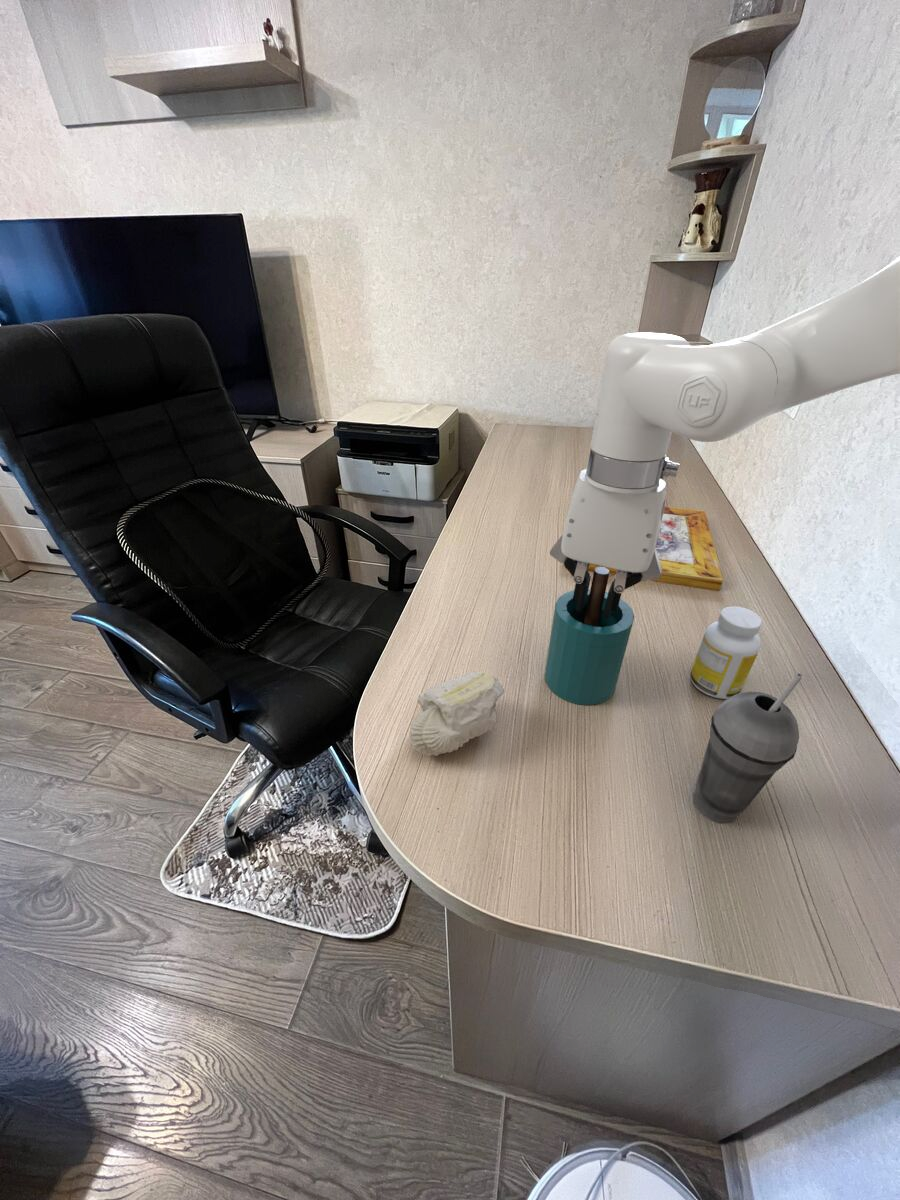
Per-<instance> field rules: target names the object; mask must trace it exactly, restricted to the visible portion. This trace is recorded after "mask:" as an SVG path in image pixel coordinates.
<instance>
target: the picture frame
mask: <svg viewBox="0 0 900 1200" xmlns="http://www.w3.org/2000/svg"><path fill="white" fill-rule="evenodd" d="M656 550H657V554H658V557H659V561H660V564H661V567H662V574H661V577H660V578H659V579H655V580H651V581H653V582H660V583H667V584H672V585H680V586H685V587H692V588H698V589H704V590H712V591H718V592H719V591H720V590H721V588H722V584H723V582H724V579H723V575H722V574H723V573H722V571H721V567H720V563H719V559H718V555H717V552H716V548H715V544H714V539H713V536H712V532H711V529H710V525H709V521H708V516H707V514H706V511H705V510H698V509H689V508H681V507H672V506H665V507H664V513H663V518H662V523H661V527H660V532H659V537H658V541H657V545H656ZM597 567H604V566H599V565H594V564H590V565H589V568H588V572H594V569H595V568H597ZM604 568H607V569H608V570H609V571H610V573H609V575H613V576H616V569H613V568H608V567H604Z"/></svg>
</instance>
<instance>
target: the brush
mask: <svg viewBox="0 0 900 1200" xmlns="http://www.w3.org/2000/svg"><path fill="white" fill-rule="evenodd" d="M609 573H610V571H609V570H608V569H607V568H604V567H597V568H595V569H594V571H593V575H592V578H591V585H590V588H589V590H590V594H589V599H588V604H587V609H586V614H585V620H584V624H586V625H590V626H593V627H598V624H599V619H600V615H601V610H602V606H603V601H604V596H605V592H607V586H608V582H609V578H610V574H609Z"/></svg>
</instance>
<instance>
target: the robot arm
mask: <svg viewBox="0 0 900 1200" xmlns="http://www.w3.org/2000/svg"><path fill="white" fill-rule="evenodd" d="M601 373H602V374H601V380H600V384H599V385H600V386H599V392H598V399H597V402H596V403H597V404H596V410H595V415H594V422H593V428H592V435H591V442H590V445H589V446H590V447H589V452H588V459H587V463H586V468H584V469H582V470H581V471H580V472H579V475H578V477H577V481H576V484H575V486H574V489H573V492H572V496H571V499H570V502H569V506H568V511H567V514H566V518H565V523H564V529H563V532H562V533H561V535H560V537H559V538H558V539H557V541H556V542H555V543H554V544H553V546H552V547H551V549H550V550H549V555H550V556H551V557H552V558H554V559H555V560H557V561H558V562H559V563H562V564H563V566H564V567H565V569H566V570H567V571H568V573H569V574H570V575H571V576H572V580H573V582H574V583H575V585H574V595H573V601H576V602H577V606H576V611H577V612H580V611H581V612H582V610H583V607H584V605H585V602H586V599H587V595H588V590H590V583H591V580H592V576H591V573H590V571H588V568H589V565H590V564H594V565H599V566H604V567H608V568H613V569H616V575H614V576H615V577H614V578H613V580H612V581H611V583H610V586H609V589H608V592H607V593H608V596H607V600H606V605H605V609H604V614H603V617H604V618H605V619H609V616H610V613H611V610H613V611H617V609H618V606H619V602H620V599H622V598H621V597H622V594H623V593H624V592H625V590H627V589H629V588H631V587H633V586H635V585H637V584H639V583H641V582H647V581H652V580H655V579H659V578H660V577H661V574H662V567H661V564H660V561H659V557H658V554H657V550H656V545H657V541H658V537H659V532H660V527H661V523H662V518H663V513H664V507H666V498H667V497H666V496H667V482H666V481H665V480H664V477H665V478H668V477H674V478H676V477H677V475H678V470H679V467H680V463H677V462H673V461H672V460H669V457H667V453H668V450H669V445H670V442H671V439H672V438H671V437H672V434H674V435H678V436H680V437H682V438H686V439H688V440H690V441H691V440H692V441H696V442H702V443H714V442H720V441H723V440H726V439H729V438H732V437H734V436H735V435H737V434H739V433H741V432H743V431H744V430H746V429H748V428H749V427H751V426H753V425H754V424H756V423H758V422H760V421H761V420H763V419H765V418H767V417H770V416H771V415H772V416H773V415H775V414H778V413H780V412H782V411H785V410H787V409H791V408H793V407H796V406H800V405H802V404H805V403H807V402H810V401H813V400H816V399H819V398H822V397H825V396H829V395H831V394H834V393H836V392H840V391H843V390H846V389H848V388H852V387H855V386H858V385H862V384H864V383H869V382H872V381H874V380H879V379H883V378H886V377H887V378H888V377H890V376H895V375H900V256H898V257H897V258H896V259H895V260H893V261H892V262H890V264H888V265H887V266H885V267H884V268H882V269H880V270H879V271H877V272H876V273H874V274H873V275H871V276H869V277H868V278H866V279H864V280H862V281H860V282H858V283H857V284H855V285H853V286H852V287H849V288H847V289H846V290H844V291H842V292H840V293H838V294H836V295H834V296H832V297H829V298H828V299H826V300H824V301H822V302H819V303H817V304H816V305H812V306H810V307H809V308H807V309H805V310H803V311H800V312H798V313H796V314H794V315H792V316H790V317H788V318H786V319H783V320H781V321H779V322H777V323H774V324H773V325H770V326H768V327H766V328H763V329H761V330H759V331H756V332H754V333H751V334H750V335H747V336H746V335H745V336H742V337H737V338H734V339H729V340H726V341H723V342H718V343H714V344H713V343H712V344H709V345H690V342H688V341H687V340H686V339H685V338H683V337H682V336H679V335H674V334H670V333H669V334H668V333H660V332H630V333H623V334H619V335H618V336H616V337H615V338H613V339H612V341H611V342H610V343H609V345H608V346H607V349H606V352H605V357H604V362H603V369H602V372H601Z"/></svg>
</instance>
